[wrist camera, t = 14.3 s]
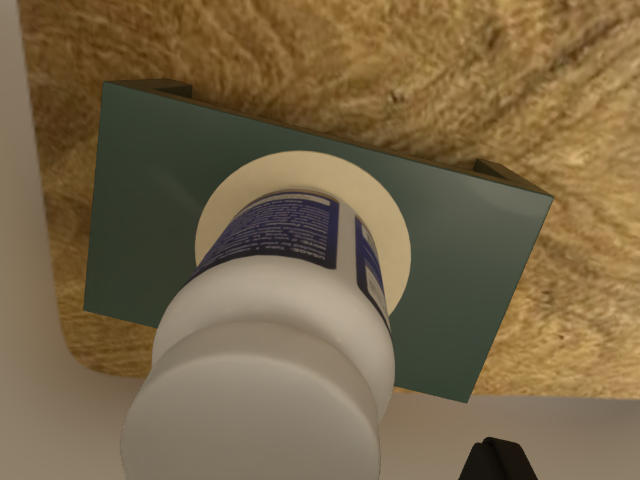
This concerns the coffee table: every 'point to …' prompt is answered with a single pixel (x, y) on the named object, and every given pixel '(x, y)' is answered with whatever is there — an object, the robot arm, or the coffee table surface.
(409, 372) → the shelf
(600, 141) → the coffee table surface
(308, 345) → the pill bottle
